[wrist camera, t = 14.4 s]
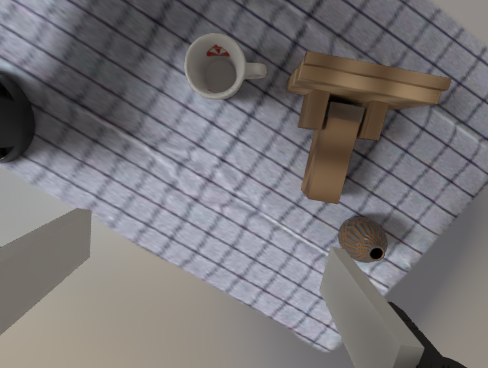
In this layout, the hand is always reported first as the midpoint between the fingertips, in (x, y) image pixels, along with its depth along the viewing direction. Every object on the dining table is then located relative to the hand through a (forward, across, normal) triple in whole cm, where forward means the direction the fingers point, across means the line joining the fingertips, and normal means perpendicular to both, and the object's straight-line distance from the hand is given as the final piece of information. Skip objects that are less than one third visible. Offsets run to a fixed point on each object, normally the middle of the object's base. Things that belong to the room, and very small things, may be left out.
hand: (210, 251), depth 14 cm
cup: (+31, -2, +14) cm, 34 cm away
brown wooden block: (+30, +15, +5) cm, 34 cm away
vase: (+30, +23, -8) cm, 39 cm away
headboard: (+30, +15, +12) cm, 36 cm away
